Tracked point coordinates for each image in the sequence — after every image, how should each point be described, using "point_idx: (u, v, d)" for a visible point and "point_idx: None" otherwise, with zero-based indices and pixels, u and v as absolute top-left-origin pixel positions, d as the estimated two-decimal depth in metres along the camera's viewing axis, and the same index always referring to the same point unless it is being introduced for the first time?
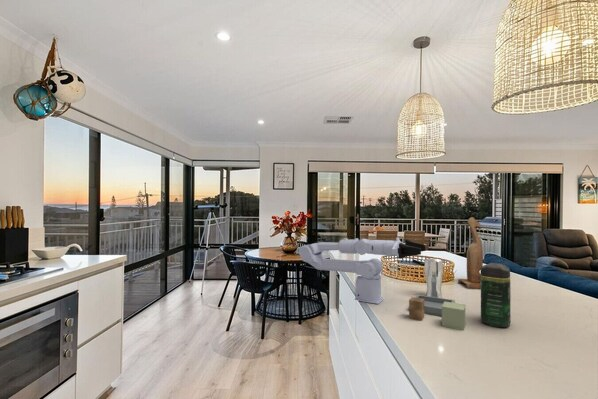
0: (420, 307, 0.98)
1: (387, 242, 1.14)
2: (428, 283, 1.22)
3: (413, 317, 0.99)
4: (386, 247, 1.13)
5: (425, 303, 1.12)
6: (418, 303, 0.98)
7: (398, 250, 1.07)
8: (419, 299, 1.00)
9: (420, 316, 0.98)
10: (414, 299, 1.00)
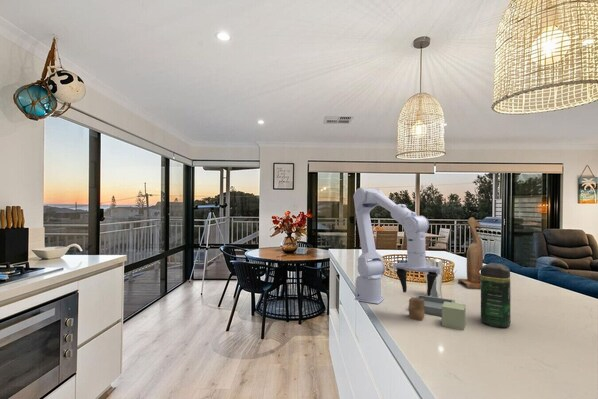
0: (420, 307, 0.98)
1: (409, 256, 1.00)
2: None
3: (413, 317, 0.99)
4: (407, 255, 1.02)
5: (425, 303, 1.12)
6: (418, 303, 0.98)
7: None
8: (419, 299, 1.00)
9: (420, 316, 0.98)
10: (414, 299, 1.00)
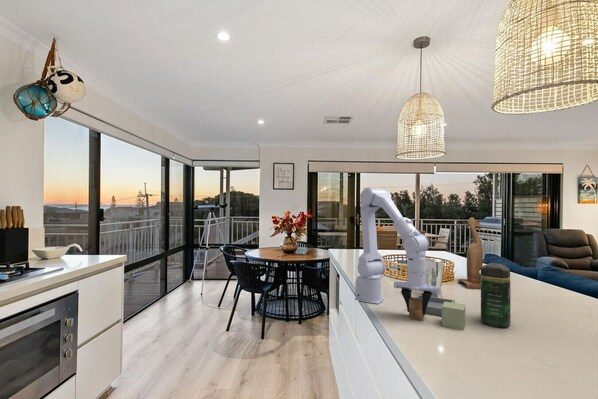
0: (420, 307, 0.98)
1: (409, 276, 0.99)
2: (428, 283, 1.22)
3: (413, 317, 0.99)
4: None
5: None
6: (418, 303, 0.98)
7: None
8: (419, 299, 1.00)
9: (420, 316, 0.98)
10: (414, 299, 1.00)
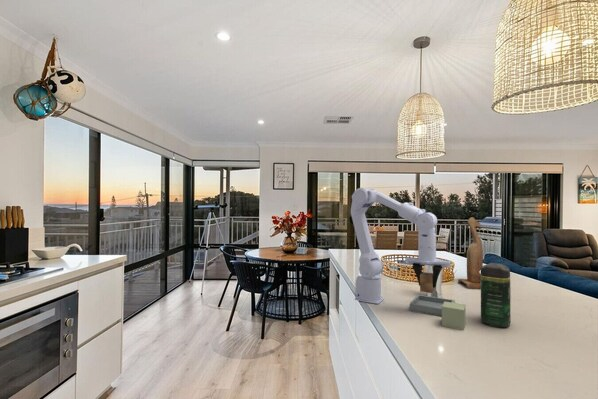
0: (430, 280, 1.03)
1: (420, 251, 1.05)
2: None
3: (424, 290, 1.05)
4: (418, 250, 1.07)
5: (425, 303, 1.12)
6: (429, 277, 1.04)
7: None
8: (430, 273, 1.06)
9: (430, 289, 1.03)
10: (424, 273, 1.06)
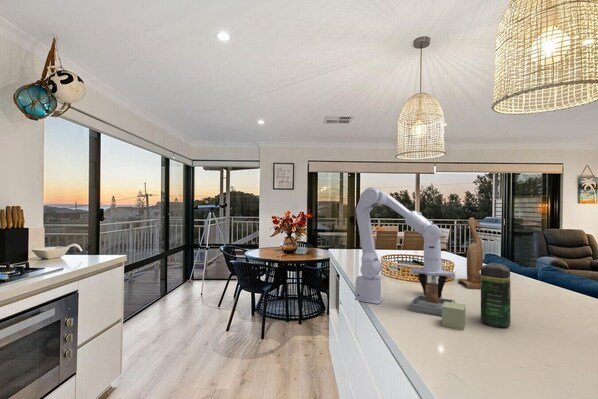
0: (436, 291, 1.06)
1: (426, 262, 1.08)
2: None
3: (429, 300, 1.07)
4: None
5: (425, 303, 1.12)
6: (434, 287, 1.06)
7: None
8: (435, 284, 1.09)
9: (436, 299, 1.06)
10: (430, 284, 1.09)
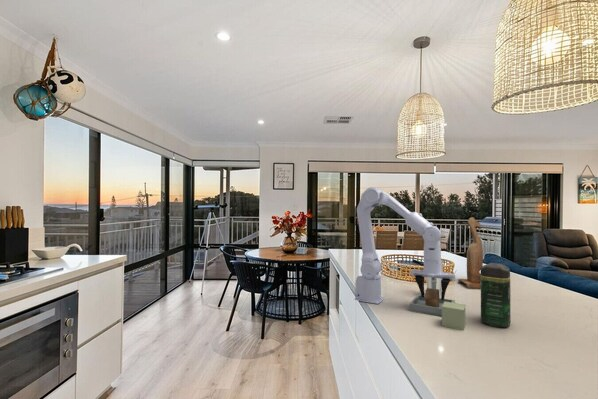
0: (436, 297, 1.06)
1: (426, 264, 1.08)
2: (428, 283, 1.22)
3: None
4: None
5: None
6: (434, 293, 1.06)
7: None
8: (435, 290, 1.09)
9: (436, 305, 1.06)
10: (430, 289, 1.09)
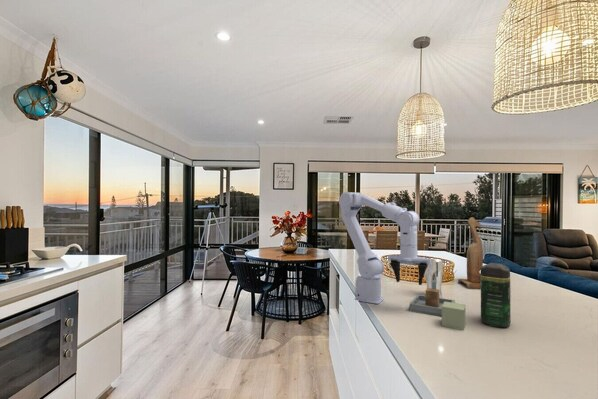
0: (436, 297, 1.06)
1: (402, 248, 1.08)
2: (428, 283, 1.22)
3: None
4: None
5: None
6: (434, 293, 1.06)
7: None
8: (435, 290, 1.09)
9: (436, 305, 1.06)
10: (430, 289, 1.09)
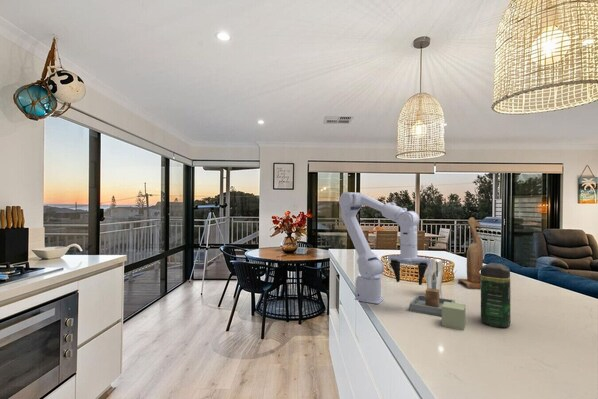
0: (436, 297, 1.06)
1: (402, 248, 1.08)
2: (428, 283, 1.22)
3: None
4: None
5: None
6: (434, 293, 1.06)
7: None
8: (435, 290, 1.09)
9: (436, 305, 1.06)
10: (430, 289, 1.09)
